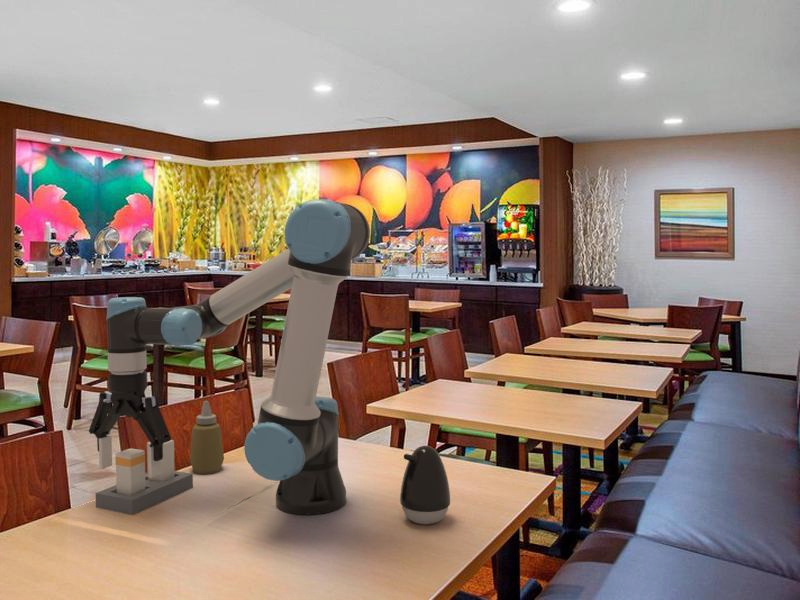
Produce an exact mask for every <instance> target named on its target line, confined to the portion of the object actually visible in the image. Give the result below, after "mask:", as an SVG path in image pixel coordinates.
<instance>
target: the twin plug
mask: <svg viewBox="0 0 800 600" xmlns="http://www.w3.org/2000/svg"><path fill="white" fill-rule="evenodd" d="M150 445H151V443H150V441H147V443H146V455H147V456H146V460H147V467H146V468H147V472H148V480H151V481H157V482H164V481H166V480H169V479H171V478H173V477H175V473H174V471H175V441H174V439H171V440H170V441H168V442H166V443H164V444H163V458H162V460H161V474H160V475H157V476H155V477H152V478H150V477H149V464H148V446H150Z"/></svg>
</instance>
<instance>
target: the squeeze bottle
mask: <svg viewBox="0 0 800 600" xmlns="http://www.w3.org/2000/svg"><path fill="white" fill-rule="evenodd" d="M202 402H203V404H202V407H201V412H200V414H198V415H197V416H196V424H194V426H192V432H191V440H190V441H191V442H190V453H189V454H190V455H189V462H190V465H191V467H192V471H193V473H194V474H198V475H211V474H216V473H218V472H220V470H221V469H222V466H223V463H224V459H225V456H224V454H225V453H224V446H223V439H222V431H221V425H220V424H219V423H217V415H216V414H213V413H212V409H211V405H210V401H209V400H204V401H202Z"/></svg>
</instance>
